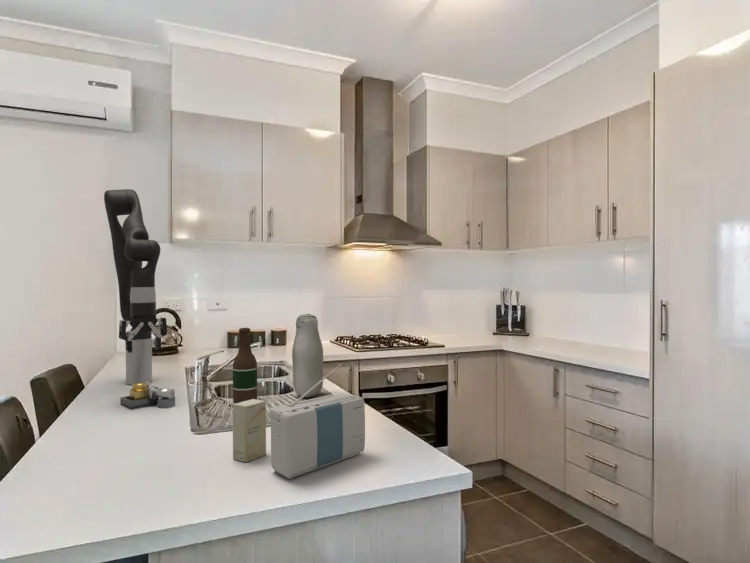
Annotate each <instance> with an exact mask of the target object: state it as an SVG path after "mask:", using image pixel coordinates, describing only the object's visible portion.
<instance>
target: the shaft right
mask: <svg viewBox="0 0 750 563" xmlns="http://www.w3.org/2000/svg"><path fill="white" fill-rule="evenodd" d="M149 389H150V390H149V398H150V399H156V398H159V399H158V405H157V409H158V408H159V409H167V408H171V407H173V406H175V405H176V396H175V395H176V394H175V393H176V392H175V389H173V388H159V387H158V386H154V385H153V386H150V387H149Z"/></svg>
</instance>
